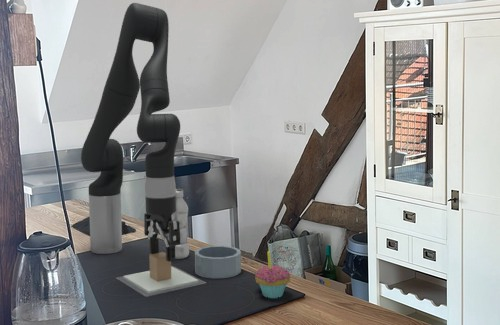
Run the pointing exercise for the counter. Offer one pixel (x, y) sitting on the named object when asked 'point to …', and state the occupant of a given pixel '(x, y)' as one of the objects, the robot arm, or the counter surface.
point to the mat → (158, 291)
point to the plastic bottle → (181, 225)
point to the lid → (160, 276)
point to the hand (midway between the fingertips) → (162, 257)
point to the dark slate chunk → (85, 227)
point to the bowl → (217, 262)
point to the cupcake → (272, 279)
